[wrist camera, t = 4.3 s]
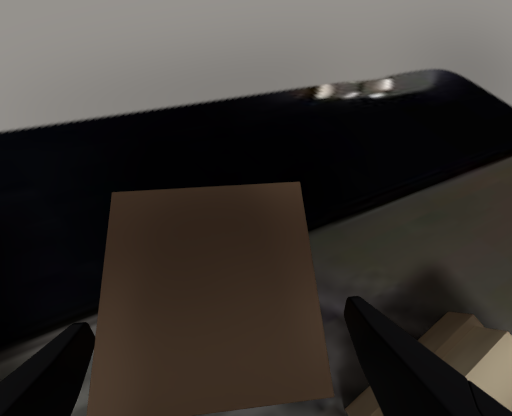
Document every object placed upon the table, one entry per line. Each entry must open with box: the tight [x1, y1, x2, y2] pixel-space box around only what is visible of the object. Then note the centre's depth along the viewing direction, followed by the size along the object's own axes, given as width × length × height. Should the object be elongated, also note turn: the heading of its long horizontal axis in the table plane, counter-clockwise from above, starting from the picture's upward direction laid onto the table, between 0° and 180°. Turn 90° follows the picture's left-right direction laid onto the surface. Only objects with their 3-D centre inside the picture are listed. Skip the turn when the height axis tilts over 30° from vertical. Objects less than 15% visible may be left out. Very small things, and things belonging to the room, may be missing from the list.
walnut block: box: [87, 182, 334, 416], centre depth 11 cm, size 5×5×12 cm
